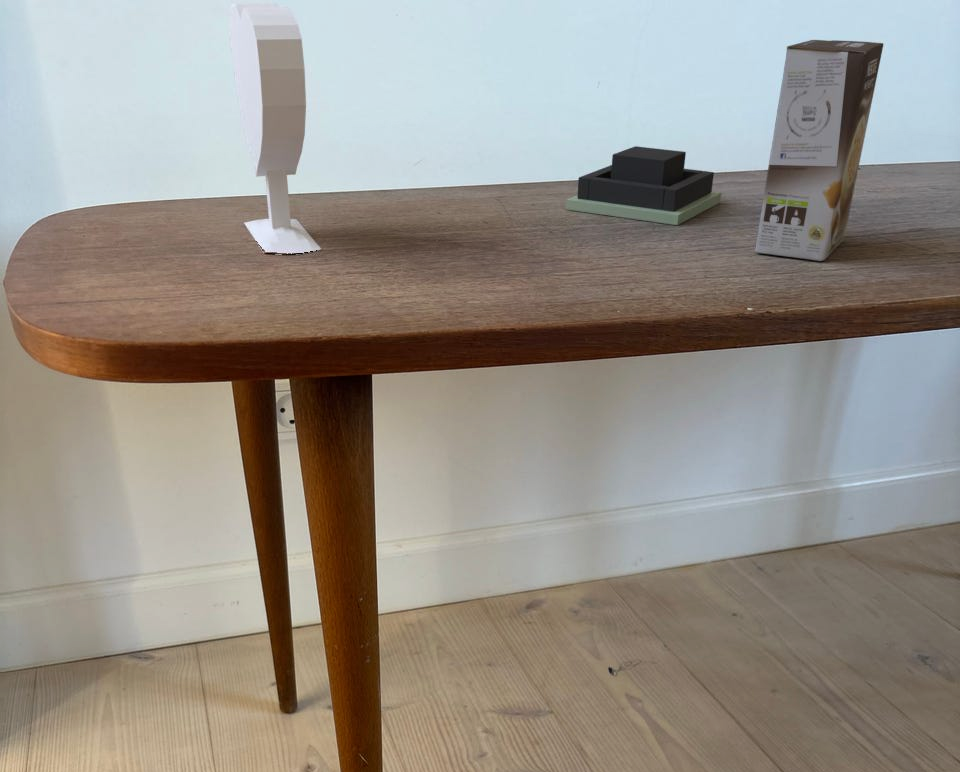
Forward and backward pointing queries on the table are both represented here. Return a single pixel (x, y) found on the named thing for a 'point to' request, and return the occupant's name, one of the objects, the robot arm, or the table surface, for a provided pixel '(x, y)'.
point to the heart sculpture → (271, 112)
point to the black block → (648, 166)
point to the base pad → (645, 197)
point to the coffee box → (817, 146)
